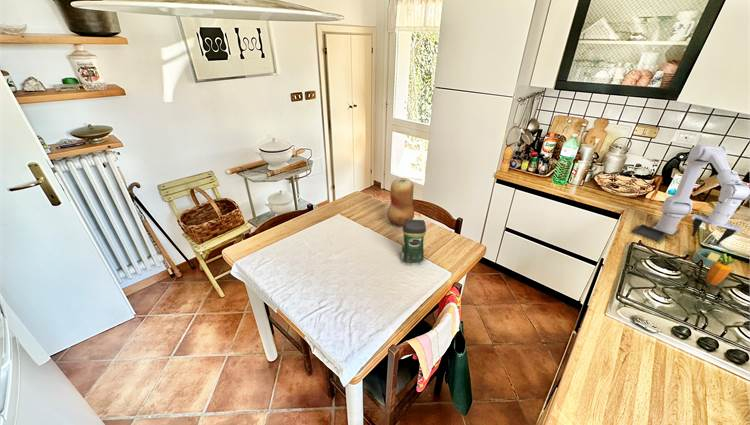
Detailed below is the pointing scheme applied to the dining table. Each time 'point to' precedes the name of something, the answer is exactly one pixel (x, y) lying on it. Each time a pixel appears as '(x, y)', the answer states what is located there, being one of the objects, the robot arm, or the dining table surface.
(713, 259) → the butter
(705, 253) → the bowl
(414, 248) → the coffee jar
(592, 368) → the dining table surface
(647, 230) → the dark grey flat slab
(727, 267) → the carrot
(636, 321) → the blueberries
